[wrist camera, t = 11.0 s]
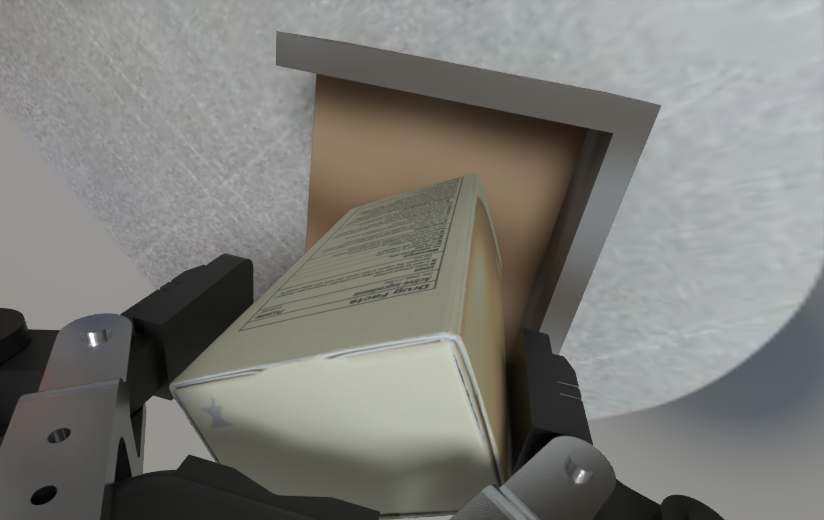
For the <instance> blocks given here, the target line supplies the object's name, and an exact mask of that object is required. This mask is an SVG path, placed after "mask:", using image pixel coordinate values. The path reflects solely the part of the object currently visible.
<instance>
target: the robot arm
mask: <svg viewBox="0 0 824 520" xmlns="http://www.w3.org/2000/svg"><path fill="white" fill-rule="evenodd" d="M252 304H253V263H252V261H251V260H250V259H246V258H242V257H238V256H234V255H230V254H222V255H221V256H219V257H218V258H216V259H215V260H213V261H212V262H211V263H209V264H208V265H206V266H205V265H202V266H199V267H196V268H193V269H190V270H187V271H185V272H183V273H182V274H180V275H179V276H177V277H176V278H174V279H173V280H172V281H171V282H168V283H167V284H165V285H164V286H162V287H161V288H160V290H156V291H155V292H153V293H152V294H150V295H149V296H147V297H146V298H144V299H143V300H141V301H140V302H138V303H137V304H135V305H134V306H132V307H131V308H129V309H128V310H126V311H125V312H123V313H122V314H120V315H118V314H95V315H90V316H86V317H83V318H80V319H77V320H75V321H73V322H71V323H69V324H68V325H66V326H65V327H63V328H62V329H61V330H30V329H27V325H26V322H25V319H24V316H23V314H22V313H20V312H19V311H16V310H13V309H7V308H6V309H5V308H0V520H379V516H380V511H377V510H373V509H370V508H367V507H363V506H360V505H357V504H353V503H350V502H346V501H343V500H340V499H336V498H333V497H313V496H284V495H276V494H274V493H272V492H270V491H269V490H267V489H266V488H264V487H263V486H261V485H259V484H258V483H256V482H255V481H253V480H252V479H250V478H249V477H247V476H246V475H244V474H243V473H241V472H240V471H238V470H236V469H235V468H232V467H229V466H226V465H222V464H219V463H216V462H212V461H209V460H205V459H202V458H199V457H195V456H192V455H188V456H187V457H186V459H185V460H184V461H183V463H182V464H181V465H180V466H179V468H178V469H177V470H165V471H156V472H150V473H145V474H143V460H144V443H145V426H146V405H145V402H146V401H147V400H149V399H150V398H151V397H152V396H153V395H154V396H157V397H161V398H164V399H168V400H172V399H173V398H174V397H173V395H172V393H171V391H170V390H169V385H170V384H171V383H172V381H173V380H174V379H175V378H177V377H178V376H179V375H180V374H181V373H182V372H183V371H184V370H185V369H186V368H187V367H188V366H189V365H190V364H191V363H192V362H193V361H194V360H195V359H196V358H197V357H198V356H199V355H200V354H201V353H203V352H204V351H205V350H206V349H207V348H208V347H209V346H210V345H211V344H212V343H213V342H214V341H215V340H216V339H217V338H218V337H219V336H220V335H221V334H222V333H223V332H224V331H225V330H226V329H227V328H228V327H229V326H230V325H231V324H232V323H233V322H234V321H235V320H237V319H238V318H239V317H240V316H241V315H242V314H243V313H244V312H245V311H246V310H247V309H248V308H249V307H250V306H251V305H252ZM506 387H507V412H508V438H509V458H510V479H509V480H508V481H507V482H506V483H504V484H503V485H502V486H501V487H499V488H498V487H497V486H496V485H495V484H491V485H489V486H487V487H486V488H485V489H483V490H482V491H481V492H480V493H479V494H478V495H476V496H475V497H474V498H473V499H472V500H471V501H470V502H469V503H467V504H466V505H465V506H464V507H463V508H462V509H461V510H460V511H458V512H457V513H456V514H455V515H454V516H453V517H452V518H451V519H449V520H724V519H723V518H722V517H721V516H720V515H719V514H718V513H716V512H715V511H714V510H712V509H711V508H710V507H708V506H707V505H705V504H703V503H702V502H700V501H698V500H695V499H693V498H691V497H687V496H683V495H671V496H668V497H667V498H665V499H664V500H663V502H662V503H661V505H659V504H657V503H656V502H654V501H652V500H650V499H648V498H647V497H645V496H643V495H641V494H639V493H637V492H636V491H634V490H632V489H630V488H629V487H627V486H625V485H623V484H622V483H621V482H620V481H618V480H617V479H616V476H615V472H614V470H613V467H612V466H611V464H610V462H609V461H608V460H607V458H606V457H605V456H604V455H603V454H602V453H601V452H600V451H599V450H598V449H597V448H595V447H594V446H593V443H592V439H591V435H590V431H589V426H588V422H587V418H586V414H585V410H584V406H583V402H582V401H581V394H580V390H579V389H578V381H577V377H576V373H575V371H574V369H573V368H572V367H571V365H570V364H569V362H568V361H567V360H566V358H565V357H564V356H560V355H556V354H552V349H551V343H550V338H549V335H548V334H546V333H542V332H538V331H534V330H530V329H526V328H521V329H520V330H519V332H518V335H517V337H516V340H515V343H514V346H513V349H512V352H511V355H510V357H509V360H508V363H507V366H506Z"/></svg>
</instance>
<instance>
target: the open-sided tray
mask: <svg viewBox="0 0 824 520" xmlns="http://www.w3.org/2000/svg"><path fill="white" fill-rule="evenodd" d="M276 65H277V66H282V67H287V68H292V69H297V70H302V71H307V72H312V73H317V77H316V93H315V109H314V125H313V141H312V156H311V172H310V188H309V204H308V220H307V236H306V252H307V251H308V250H309V249H310V248H311V247H312V246H313V245H314V244H316V243H317V242H318V241H319V240H320V239H321V238H322V237H323V236H324V235H325V234H326V233H327V232H328V231H329V230H330V229H331V228H332V227H333V226H334V225H335V224H336V223H337V222H338V221H339V220H340V219H341V218H342V217H343V216H344V215H345V214H346V213H347V212H348V211H349V210H351V209H353V208H356V207H359V206H362V205H365V204H368V203H371V202H374V201H377V200H380V199H383V198H386V197H390V196H393V195H396V194H400V193H403V192H406V191H410V190H413V189H416V188H420V187H423V186H427V185H430V184H434V183H438V182H442V181H445V180H449V179H453V178H457V177H461V176H465V175H469V174H474V173H475V174H478V175H479V176H480V178H481V181H482V184H483V188H484V191H485V195H486V199H487V202H488V206H489V210H490V214H491V218H492V222H493V226H494V230H495V234H496V238H497V243H498V247H499V252H500V256H501V263H502V289H503V313H504V337H505V361H506V366H507V363H508V360H509V357H510V355H511V352H512V349H513V346H514V343H515V340H516V337H517V335H518V332H519V330H520V329H521V328H526V329H530V330H534V331H538V332H542V333H546V334H548V335H549V338H550V343H551V349H552V354H556V355H559V352H560V350H561V347H562V345H563V342H564V340H565V338H566V335H567V333H568V330H569V328H570V326H571V323H572V321H573V318H574V316H575V313H576V311H577V309H578V306H579V304H580V301H581V299H582V296H583V294H584V292H585V289H586V287H587V284H588V282H589V279H590V277H591V275H592V272H593V270H594V267H595V265H596V263H597V260H598V258H599V255H600V253H601V250H602V248H603V246H604V243H605V241H606V238H607V236H608V233H609V231H610V229H611V226H612V224H613V221H614V219H615V216H616V214H617V212H618V209H619V207H620V204H621V202H622V199H623V197H624V195H625V192H626V190H627V187H628V185H629V183H630V180H631V178H632V175H633V173H634V170H635V168H636V166H637V163H638V161H639V158H640V156H641V153H642V151H643V149H644V146H645V144H646V141H647V139H648V136H649V134H650V132H651V129H652V127H653V124H654V122H655V119H656V117H657V115H658V112H659V110H660V107H661V105H657V104H653V103H649V102H645V101H641V100H637V99H632V98H628V97H624V96H620V95H616V94H611V93H606V92H601V91H596V90H590V89H585V88H580V87H575V86H570V85H564V84H559V83H554V82H549V81H544V80H538V79H533V78H528V77H523V76H517V75H512V74H507V73H502V72H497V71H491V70H486V69H481V68H476V67H471V66H465V65H460V64H455V63H450V62H445V61H439V60H434V59H429V58H424V57H419V56H413V55H408V54H403V53H398V52H393V51H387V50H382V49H377V48H372V47H367V46H361V45H356V44H351V43H346V42H341V41H334V40H328V39H322V38H315V37H309V36H303V35H297V34H290V33H284V32H278V31H277V36H276ZM306 252H305V253H306Z"/></svg>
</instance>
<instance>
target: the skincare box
mask: <svg viewBox="0 0 824 520" xmlns="http://www.w3.org/2000/svg"><path fill="white" fill-rule="evenodd" d="M169 390H170V391H171V393H172V395H173V397H174V399H175V400H176V401H177V403H178V404H179V405H180V407H181V408H182V410H183V411H184V412H185V414H186V416H187V418H188V419H189V421H190V423H191V425H192V426H193V427H194V429H195V431H196V432H197V434H198V435H199V437H200V438H201V440H202V441H203V443H204V445H205V446H206V448H207V449H208V451H209V452H210V454H211V456H212V457H213V458H214V460H215V462H216V463H219V464H222V465H226V466H229V467H232V468H235V469H236V470H238V471H240V472H241V473H243V474H244V475H246V476H247V477H249V478H250V479H252V480H253V481H255V482H256V483H258V484H259V485H261V486H263V487H264V488H266V489H267V490H269V491H270V492H272V493H274V494H276V495H284V496H313V497H333V498H336V499H340V500H343V501H346V502H350V503H353V504H357V505H360V506H363V507H367V508H370V509H373V510H377V511H380V516H379V520H384V519H385V520H387V519H403V518H418V517H434V516H446V515H455V514H456V513H457V512H458V511H460V510H461V509H462V508H463V507H464V506H465V505H466V504H467V503H469V502H470V501H471V500H472V499H473V498H474V497H475V496H476V495H478V494H479V493H480V492H481V491H482V490H483V489H485V488H486V487H487V486H489V485H491V484H495V485H496V486H497V487H498V488H499V487H501V486H502V485H503V484H504V483H506V482H507V481H508V480H509V479H510V458H509V438H508V412H507V387H506V361H505V337H504V313H503V289H502V263H501V256H500V252H499V247H498V243H497V238H496V234H495V230H494V226H493V222H492V218H491V214H490V210H489V206H488V202H487V199H486V195H485V191H484V188H483V184H482V181H481V178H480V176H479V175H478V174H475V173H474V174H469V175H465V176H461V177H457V178H453V179H449V180H445V181H442V182H438V183H434V184H430V185H427V186H423V187H420V188H416V189H413V190H410V191H406V192H403V193H400V194H396V195H393V196H390V197H386V198H383V199H380V200H377V201H374V202H371V203H368V204H365V205H362V206H359V207H356V208H353V209H351V210H349V211H348V212H347V213H346V214H345V215H344V216H343V217H342V218H341V219H340V220H339V221H338V222H337V223H336V224H335V225H334V226H333V227H332V228H331V229H330V230H329V231H328V232H327V233H326V234H325V235H324V236H323V237H322V238H321V239H320V240H319V241H318V242H317V243H316V244H314V245H313V246H312V247H311V248H310V249H309V250H308V251H307V252H306V253H305V254H304V255H303V256H302V257H301V258H300V259H299V260H298V261H297V262H296V263H295V264H294V265H293V266H292V267H291V268H290V269H289V270H288V271H287V272H286V273H284V274H283V275H282V276H281V277H280V278H279V279H278V280H277V281H276V282H275V283H274V284H273V285H272V286H271V287H270V288H269V289H268V290H267V291H266V292H265V293H264V294H262V295H261V296H260V297H259V298H258V299H257V300H256V301H255V302H254V303H253V304H252V305H251V306H250V307H249V308H248V309H247V310H246V311H245V312H244V313H243V314H242V315H241V316H240V317H239V318H238V319H237V320H235V321H234V322H233V323H232V324H231V325H230V326H229V327H228V328H227V329H226V330H225V331H224V332H223V333H222V334H221V335H220V336H219V337H218V338H217V339H216V340H215V341H214V342H213V343H212V344H211V345H210V346H209V347H208V348H207V349H206V350H205V351H204V352H203V353H201V354H200V355H199V356H198V357H197V358H196V359H195V360H194V361H193V362H192V363H191V364H190V365H189V366H188V367H187V368H186V369H185V370H184V371H183V372H182V373H181V374H180V375H179V376H178V377H177V378H175V379H174V380H173V381H172V383H171V384H170V385H169Z"/></svg>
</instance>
